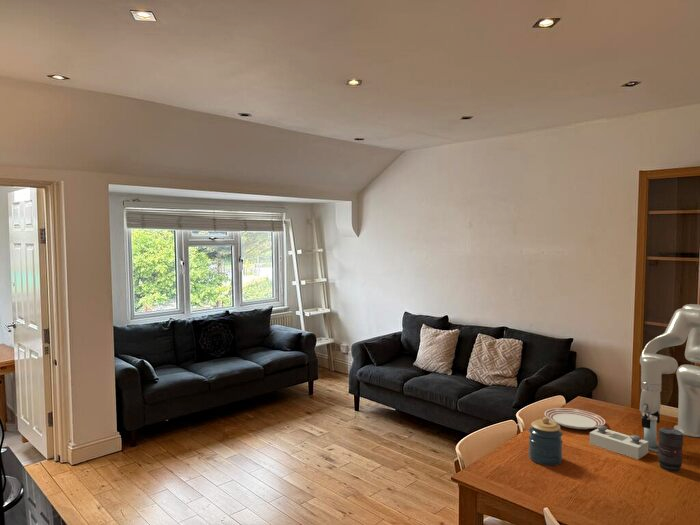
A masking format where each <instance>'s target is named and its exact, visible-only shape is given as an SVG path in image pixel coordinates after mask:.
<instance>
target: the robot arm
mask: <svg viewBox="0 0 700 525" xmlns="http://www.w3.org/2000/svg"><path fill="white" fill-rule="evenodd" d="M685 342H686V346H685V351H684V357H685V359H686V360H687V361H688V362H691V363H694V364H699V365H700V304H698V303H697V304H695V303H694V304H692V303H689V304H685V305H683V306H682V308H681V307H680V308H678V309H676V310H675V311H674V313H673V315H672V316H671V318H670V320H669V323H668V325H667V327H666V328H665V331H664V332H663V333H661V334H660V335H658V336H656V337H654V338H652V339H651V340H650V341H648V342H647V343H646V344H645V346H644V348H643V350H642V352H641V354H640V357H639V364H640V366H641V367H640V370H641V373H640V375H641V376H640V389H641V393H640V401H639V411H640V414H641V427H642V428H643V429H644V428H648V429H650V415H653V416H656V417H657V423H658V424H660V421H661V420H660V419H661V418H660V417H661V415H660V414H661V410H660V409H661V392H662V383H663V382H662V375H671V374H673V373H675V372H676V379H677V386H678V405H677V406H678V410H677V411H678V412H677V416H678V417H677V424H675V425H674V426H673V429H676V430H679V431H681V432H682V433H683V436H688V437H693V438H700V366H698V365H693V364H681V365H680V366H679V364H678V361H677V360H676V359H675V358H674V357H672V356H669V355H663V354H658V353H657V352H659V351H661V350H663V349H666V348H671V347H675V346H680V345H683V344H685ZM647 415H648V416H647Z"/></svg>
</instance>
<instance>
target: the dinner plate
mask: <svg viewBox="0 0 700 525" xmlns="http://www.w3.org/2000/svg"><path fill="white" fill-rule="evenodd" d="M544 417H547V418H548V419H549V420H551V421H554V422H555V423H556V424H558V425H559V426H560V427H561V426H562V427H565V428H568V429H574V430H590V429H597V425H604V426H605V424H606V420H605V419H604V418H603V417H602V416H601V415H599V414H596V413H594V412H590V411H587V410H582V409H578V408H570V407H569V408H568V407H555V408H550V409H547V410H545V411H544Z"/></svg>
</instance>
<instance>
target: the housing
mask: <svg viewBox="0 0 700 525" xmlns="http://www.w3.org/2000/svg"><path fill="white" fill-rule="evenodd" d="M588 440H589V442H588V444H589V445H591V446H595V447H598V448H601V449H604V450H608V451H610V452H614V453H617V454H620V455H623V456H625V455H626V456H625V457H628V456H629V458H631V457H632V458H631V459H635V460H640V459H642V458H643V457H645V456H646V455H647V454H649V451H648V441H645V440H644V439H642V438H641V440H639V444H635V443H632V439H631V438H630V435H627V434H624V433H622V432H617V431H614V430H612V429H608V428H607V430H605V434H602V433H599V429H597V428H595V429H594V430H592V431H590V432H589V439H588Z"/></svg>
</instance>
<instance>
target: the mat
mask: <svg viewBox="0 0 700 525" xmlns="http://www.w3.org/2000/svg"><path fill="white" fill-rule="evenodd" d="M648 452H651V453H655V454H658V452H659V443H656V448H650V447H648Z"/></svg>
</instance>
